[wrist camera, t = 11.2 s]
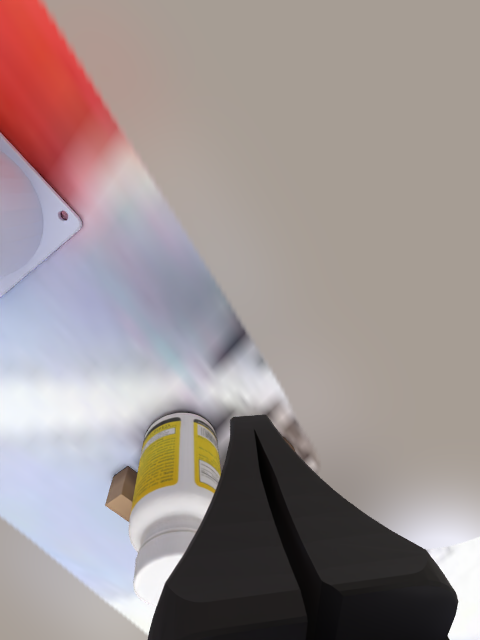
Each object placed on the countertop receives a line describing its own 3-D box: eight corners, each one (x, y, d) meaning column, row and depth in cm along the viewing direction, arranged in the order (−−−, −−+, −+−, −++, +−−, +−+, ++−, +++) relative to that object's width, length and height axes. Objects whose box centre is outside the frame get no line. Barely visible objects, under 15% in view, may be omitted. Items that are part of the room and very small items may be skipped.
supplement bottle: (137, 463, 25) (107, 617, 16) (151, 404, 23) (126, 539, 14) (207, 471, 26) (215, 618, 17) (225, 416, 25) (244, 547, 16)
